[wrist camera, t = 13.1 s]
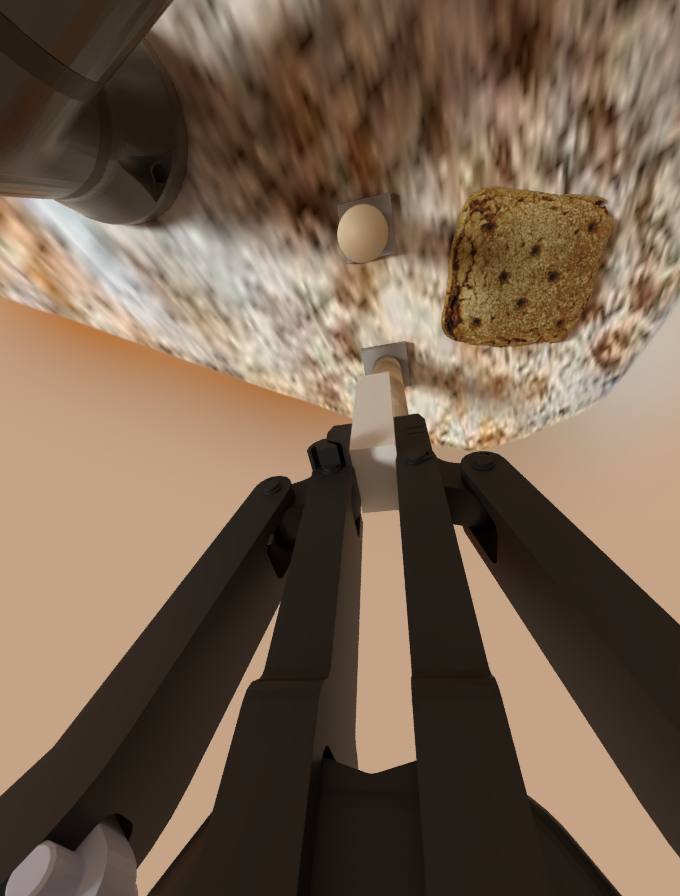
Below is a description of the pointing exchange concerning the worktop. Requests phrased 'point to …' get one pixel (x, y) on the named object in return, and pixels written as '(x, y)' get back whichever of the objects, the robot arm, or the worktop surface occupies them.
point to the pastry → (522, 266)
